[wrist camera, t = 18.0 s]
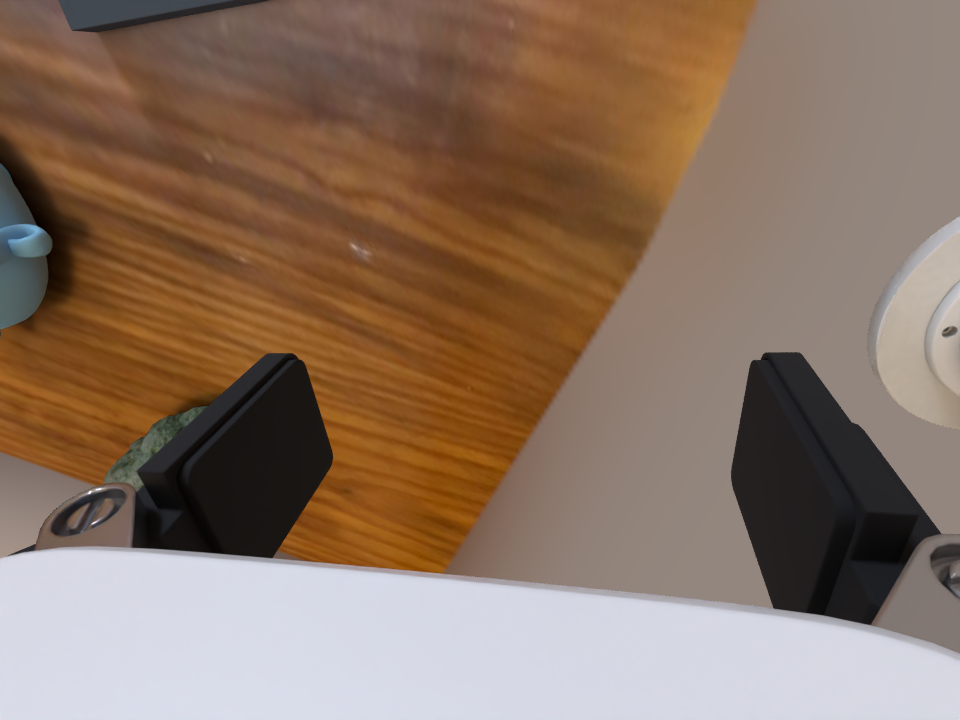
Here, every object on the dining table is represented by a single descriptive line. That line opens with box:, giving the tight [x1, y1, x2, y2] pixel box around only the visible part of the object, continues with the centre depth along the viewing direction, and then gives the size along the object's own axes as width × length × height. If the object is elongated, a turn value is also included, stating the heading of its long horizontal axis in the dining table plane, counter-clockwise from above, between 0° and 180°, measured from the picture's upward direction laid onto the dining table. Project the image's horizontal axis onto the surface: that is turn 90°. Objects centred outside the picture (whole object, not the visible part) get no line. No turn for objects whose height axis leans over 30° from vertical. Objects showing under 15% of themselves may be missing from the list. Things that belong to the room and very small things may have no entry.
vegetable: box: [103, 406, 208, 492], centre depth 45 cm, size 12×13×15 cm
